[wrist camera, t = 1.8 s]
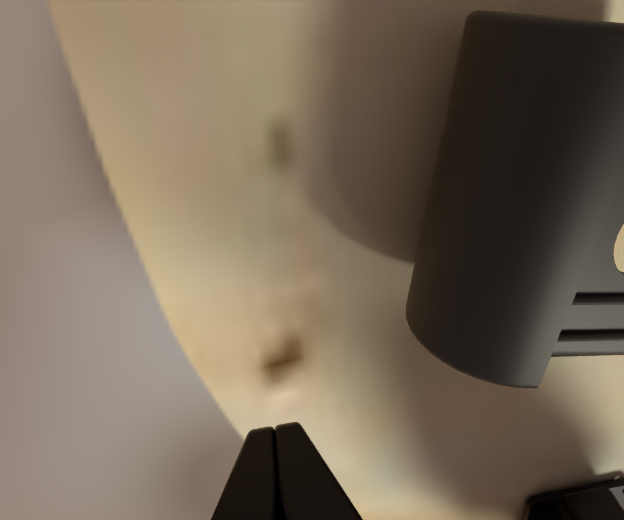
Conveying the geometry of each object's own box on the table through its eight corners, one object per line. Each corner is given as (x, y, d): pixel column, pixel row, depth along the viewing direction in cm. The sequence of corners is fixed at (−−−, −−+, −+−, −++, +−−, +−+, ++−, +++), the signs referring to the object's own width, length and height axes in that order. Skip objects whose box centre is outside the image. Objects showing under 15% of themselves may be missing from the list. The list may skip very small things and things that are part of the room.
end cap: (428, 5, 15) (546, 16, 10) (626, 24, 17) (841, 43, 11) (380, 278, 20) (440, 396, 14) (537, 278, 21) (653, 388, 15)
